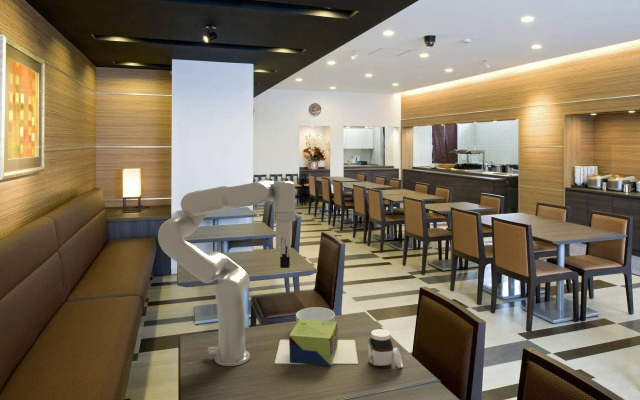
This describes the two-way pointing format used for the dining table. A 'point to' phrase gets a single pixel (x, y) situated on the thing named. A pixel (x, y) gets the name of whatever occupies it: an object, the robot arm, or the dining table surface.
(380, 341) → the spread jar
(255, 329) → the dining table surface
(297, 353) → the protein box
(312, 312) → the cereal bowl
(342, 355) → the display mat
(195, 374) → the dining table surface
